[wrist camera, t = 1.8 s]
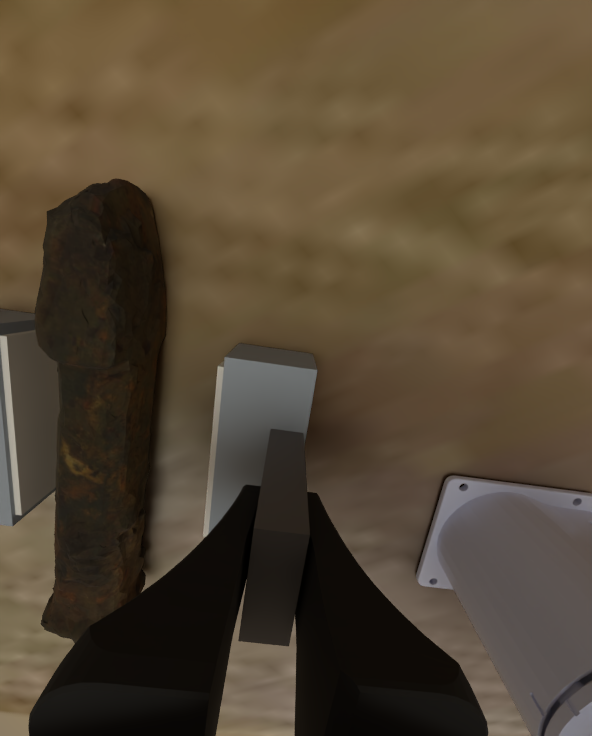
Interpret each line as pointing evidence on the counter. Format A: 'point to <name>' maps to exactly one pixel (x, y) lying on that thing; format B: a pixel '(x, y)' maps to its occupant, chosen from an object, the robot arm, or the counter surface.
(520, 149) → the counter surface
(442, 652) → the robot arm
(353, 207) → the counter surface
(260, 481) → the free jaw
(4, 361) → the fixed jaw
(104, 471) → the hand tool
